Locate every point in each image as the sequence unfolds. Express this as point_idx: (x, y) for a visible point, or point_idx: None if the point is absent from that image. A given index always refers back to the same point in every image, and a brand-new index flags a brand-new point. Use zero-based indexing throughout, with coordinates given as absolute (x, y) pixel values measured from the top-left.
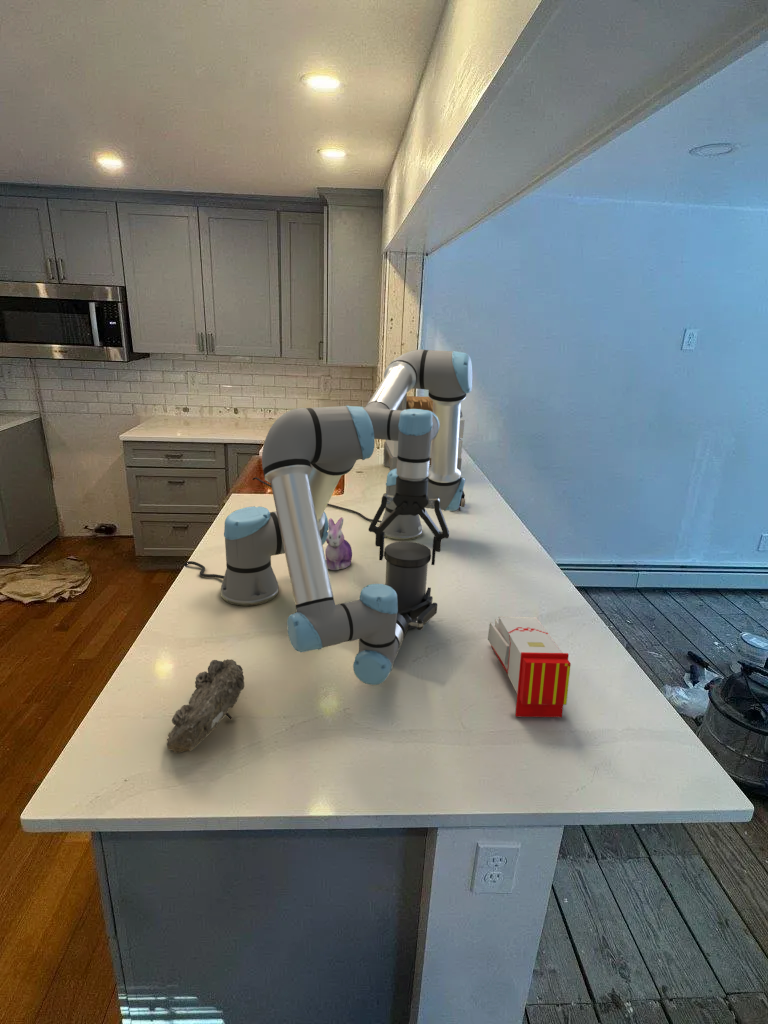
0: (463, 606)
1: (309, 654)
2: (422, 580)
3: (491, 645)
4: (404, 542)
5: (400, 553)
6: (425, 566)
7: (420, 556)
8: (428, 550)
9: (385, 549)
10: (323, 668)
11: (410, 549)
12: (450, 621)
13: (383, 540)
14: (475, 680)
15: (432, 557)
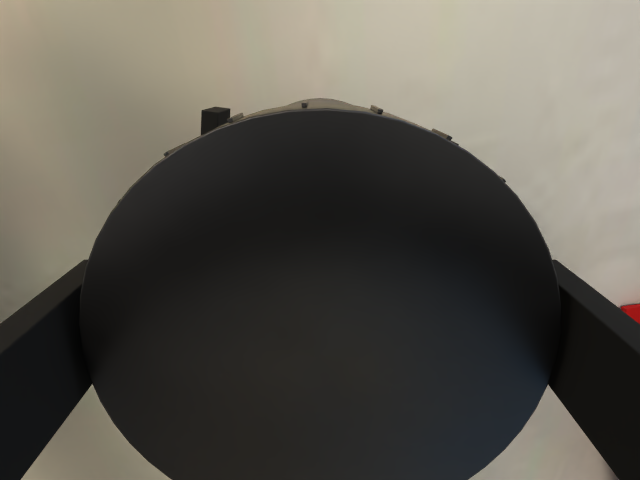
0: (586, 18)
1: (78, 421)
2: None
3: (624, 311)
4: (259, 157)
5: (259, 429)
6: None
7: (445, 452)
8: (538, 318)
9: (99, 377)
10: (139, 463)
11: (346, 332)
12: (505, 166)
13: (9, 437)
14: (530, 448)
15: (552, 382)
